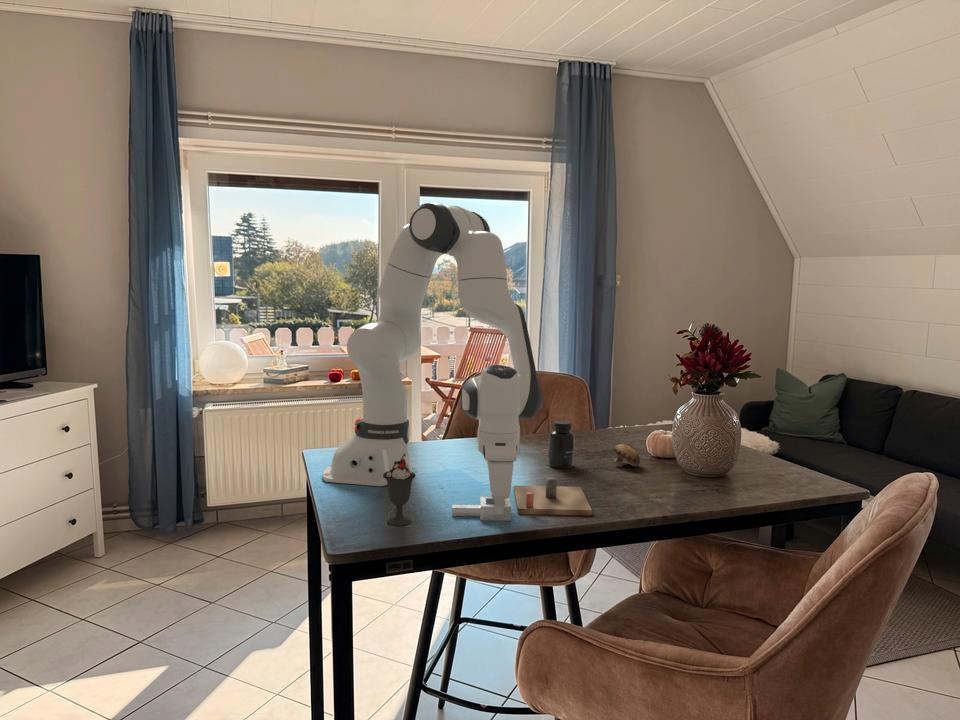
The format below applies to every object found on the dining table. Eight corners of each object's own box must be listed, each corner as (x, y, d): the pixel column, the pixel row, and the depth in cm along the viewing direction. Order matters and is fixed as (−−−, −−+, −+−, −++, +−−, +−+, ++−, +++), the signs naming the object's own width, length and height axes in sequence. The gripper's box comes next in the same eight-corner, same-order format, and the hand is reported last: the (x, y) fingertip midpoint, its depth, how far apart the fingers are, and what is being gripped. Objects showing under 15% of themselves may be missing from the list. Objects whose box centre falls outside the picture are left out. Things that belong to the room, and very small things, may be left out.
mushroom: (605, 456, 187) (619, 437, 188) (606, 460, 195) (619, 442, 195) (631, 474, 185) (644, 454, 185) (631, 477, 192) (644, 458, 193)
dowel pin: (526, 507, 152) (526, 494, 151) (525, 505, 153) (526, 492, 153) (533, 508, 152) (534, 494, 151) (532, 505, 153) (533, 492, 153)
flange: (509, 510, 153) (509, 497, 153) (510, 520, 147) (511, 507, 147) (452, 509, 153) (452, 495, 153) (451, 519, 147) (452, 505, 146)
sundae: (406, 529, 141) (407, 457, 139) (377, 524, 143) (377, 453, 141) (421, 519, 147) (421, 449, 145) (392, 514, 149) (393, 445, 147)
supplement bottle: (572, 470, 185) (574, 425, 183) (546, 468, 186) (548, 424, 185) (574, 463, 192) (576, 420, 190) (549, 461, 193) (551, 418, 191)
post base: (517, 513, 151) (518, 489, 150) (513, 490, 167) (514, 468, 166) (591, 515, 151) (592, 490, 151) (580, 491, 167) (581, 469, 166)
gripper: (482, 431, 158) (481, 490, 160) (485, 455, 138) (484, 522, 140) (510, 431, 159) (509, 490, 160) (517, 455, 138) (515, 522, 140)
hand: (497, 505), depth 150 cm, fingers open, 8 cm apart
